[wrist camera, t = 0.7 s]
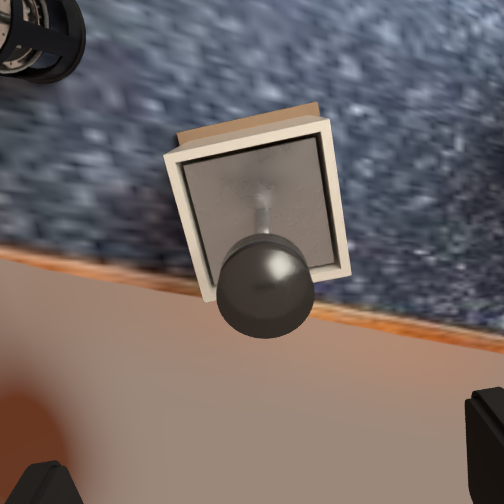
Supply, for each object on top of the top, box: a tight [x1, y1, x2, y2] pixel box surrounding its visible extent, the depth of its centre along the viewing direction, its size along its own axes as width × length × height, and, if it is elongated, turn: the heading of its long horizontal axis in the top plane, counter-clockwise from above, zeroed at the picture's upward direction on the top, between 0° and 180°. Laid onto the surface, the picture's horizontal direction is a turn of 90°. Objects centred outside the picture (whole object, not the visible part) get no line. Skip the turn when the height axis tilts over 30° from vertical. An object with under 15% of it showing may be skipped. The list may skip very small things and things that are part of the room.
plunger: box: [183, 137, 334, 339], centre depth 25 cm, size 10×10×15 cm
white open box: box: [163, 102, 351, 303], centre depth 37 cm, size 14×14×13 cm
